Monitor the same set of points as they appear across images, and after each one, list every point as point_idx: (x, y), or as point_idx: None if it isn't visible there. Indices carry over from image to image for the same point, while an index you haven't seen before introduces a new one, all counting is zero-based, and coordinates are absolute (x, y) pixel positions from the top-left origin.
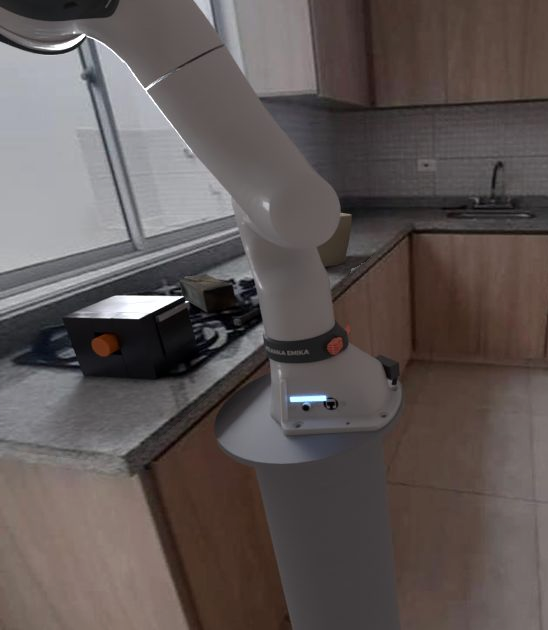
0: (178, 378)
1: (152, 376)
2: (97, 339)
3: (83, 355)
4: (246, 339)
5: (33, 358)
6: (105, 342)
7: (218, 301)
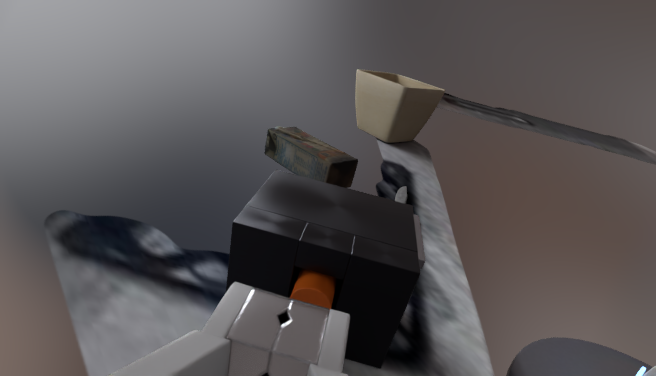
0: (418, 372)
1: (374, 362)
2: (312, 290)
3: None
4: (434, 271)
5: (95, 241)
6: (328, 300)
7: (340, 179)
